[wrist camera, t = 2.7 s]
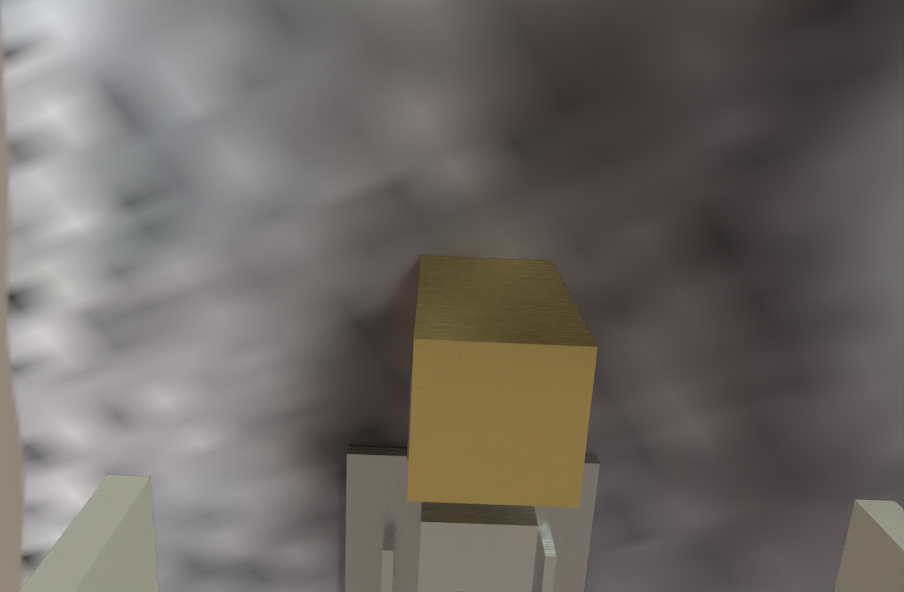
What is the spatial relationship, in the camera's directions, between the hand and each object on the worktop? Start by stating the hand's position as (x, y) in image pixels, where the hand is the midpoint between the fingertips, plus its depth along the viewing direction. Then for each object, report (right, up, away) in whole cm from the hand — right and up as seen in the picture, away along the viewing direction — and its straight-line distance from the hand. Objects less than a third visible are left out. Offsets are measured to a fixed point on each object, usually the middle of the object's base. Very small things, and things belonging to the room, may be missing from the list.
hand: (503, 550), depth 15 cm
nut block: (0, +4, +12) cm, 13 cm away
